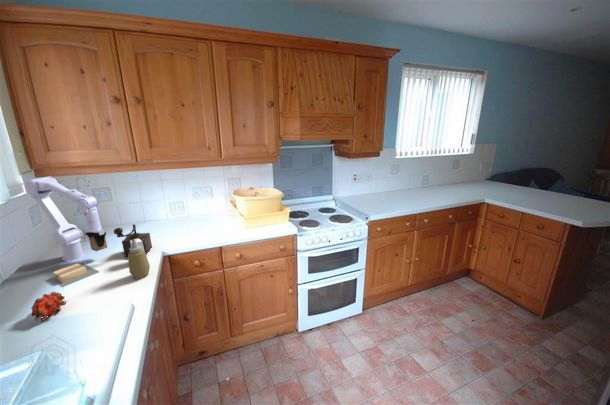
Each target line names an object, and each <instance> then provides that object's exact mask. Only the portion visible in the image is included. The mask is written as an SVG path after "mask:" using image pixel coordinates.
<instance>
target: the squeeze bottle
mask: <svg viewBox="0 0 610 405" xmlns="http://www.w3.org/2000/svg"><path fill="white" fill-rule="evenodd" d="M129 250H130V253H129V254H128V257H127V258H128V261H127V262H128V268H129V273H130V274H131V276H132V277H133V278H134V279H136V280H138V279H139V280H140V279H143V278H145V277H148V275H149V273H150V269H151V266H150V263H149V262H150V261H149V260H148V257H147V255H146V253H145V251H144V250H142V247H141V246H140V245H138V244H137V242H136V240H132V247H131V248H129Z"/></svg>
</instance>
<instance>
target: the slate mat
mask: <svg viewBox="0 0 610 405" xmlns="http://www.w3.org/2000/svg"><path fill="white" fill-rule="evenodd" d="M79 264H80V265H82V266H84V267H85V268H86V269H87V273H88V274H85V275H83V276H80V277H78V278H75V279H73V280H70V281H68V282H65V283H62V282H61V281H59V280H57V279H56V278H55V277H54V273H52V274H49V275H46V278H48V279H49V280H50V281H52V282H53V283H55V284H57V285H58V286H60V287H61V288H64V287H67V286H69V285H72V284H74V283H77V282H78V281H81V280H84V279H86V278H88V277H91V276H94V275H97V274H99V273H100V271H99V270H97V269H95V268H93V267H91V266H89V265H87V264H86V263H83V262H82V263H79Z"/></svg>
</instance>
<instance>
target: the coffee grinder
mask: <svg viewBox="0 0 610 405" xmlns="http://www.w3.org/2000/svg"><path fill="white" fill-rule="evenodd" d="M123 232H124V230H123V228H122V227H117V228H114V229H113V234H114V235H116V238H124V239H123V240H122V241H121V244H122V250H123V253H124V257H125V258H128V254H129V253H130V250H129V248H131V244H130V241H131V240H134V239H138V238H139V239H140V240H141V241H142V243H143V247H144V251H145V253H146V256H147V255H148V254H149V253H150V252H151V250H152V249H153V245H152V238H151V235H150V232H141V233H140V232H137V226H136V224H132V229H131V231H130V232H129V233H127V234H124V233H123ZM151 248H152V249H151ZM150 249H151V250H150ZM148 252H149V253H148ZM147 253H148V254H147Z"/></svg>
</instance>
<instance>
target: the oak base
mask: <svg viewBox="0 0 610 405" xmlns="http://www.w3.org/2000/svg"><path fill="white" fill-rule="evenodd" d="M80 264H81V263H78V262H77V263H74V264H72V265H69V266H66V267H64V268H61V269H58V270H55V271H53V273H52V274H54V277H55V278H56V279H57V280H59V281H61V282H62V283H65V282H68V281H70V280H73V279H75V278H78V277H80V276H83V275H85V274H88V273H87V269H86V268H85V267H84V266H82V265H80Z"/></svg>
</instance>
